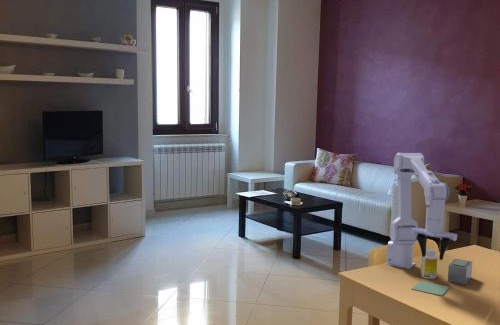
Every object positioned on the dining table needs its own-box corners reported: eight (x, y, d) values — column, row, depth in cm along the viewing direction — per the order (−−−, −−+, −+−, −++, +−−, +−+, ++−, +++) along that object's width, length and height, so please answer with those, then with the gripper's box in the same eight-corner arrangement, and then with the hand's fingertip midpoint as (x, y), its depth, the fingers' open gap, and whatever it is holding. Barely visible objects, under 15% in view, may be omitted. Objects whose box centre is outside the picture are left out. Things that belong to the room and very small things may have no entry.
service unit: (447, 281, 180) (448, 264, 179) (454, 273, 188) (455, 257, 188) (465, 285, 177) (466, 267, 176) (471, 277, 185) (472, 260, 184)
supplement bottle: (439, 278, 183) (441, 250, 182) (427, 280, 181) (429, 252, 180) (428, 273, 188) (429, 246, 187) (416, 275, 186) (418, 248, 185)
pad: (411, 289, 171) (411, 288, 171) (420, 281, 179) (420, 280, 179) (442, 296, 166) (442, 295, 166) (449, 287, 174) (449, 286, 174)
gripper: (409, 217, 172) (407, 256, 173) (454, 223, 163) (452, 264, 165) (415, 214, 177) (413, 252, 179) (459, 220, 169) (456, 259, 171)
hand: (432, 257), depth 172 cm, fingers open, 5 cm apart
